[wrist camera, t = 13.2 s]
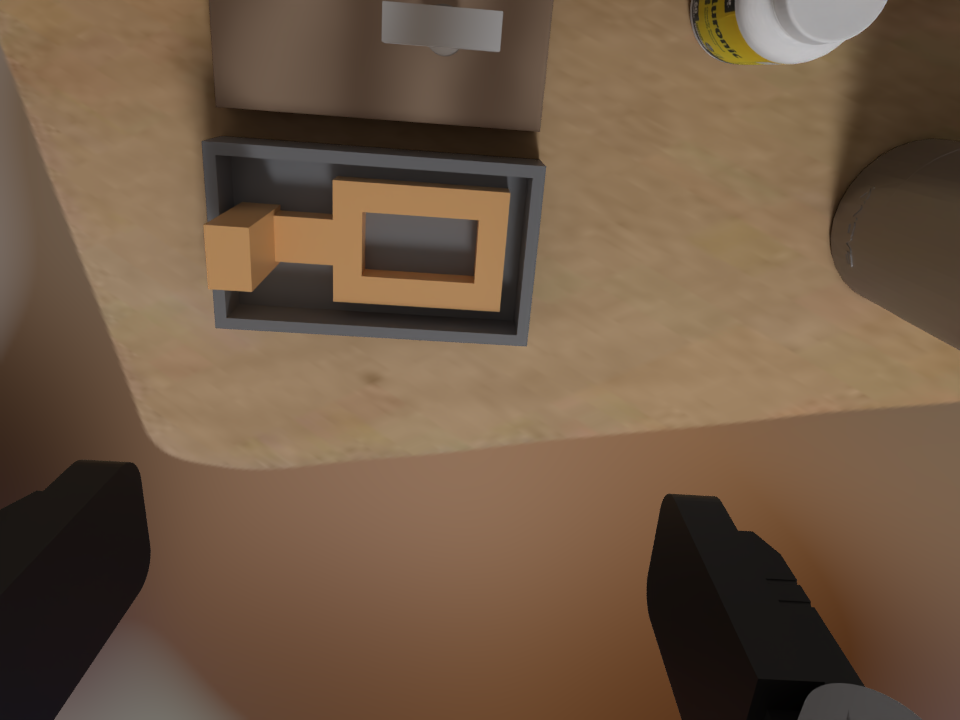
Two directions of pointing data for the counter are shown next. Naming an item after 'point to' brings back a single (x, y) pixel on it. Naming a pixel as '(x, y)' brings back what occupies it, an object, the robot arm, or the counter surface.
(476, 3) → the board
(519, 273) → the tray
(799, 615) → the robot arm
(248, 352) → the counter surface
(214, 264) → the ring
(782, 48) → the supplement bottle
